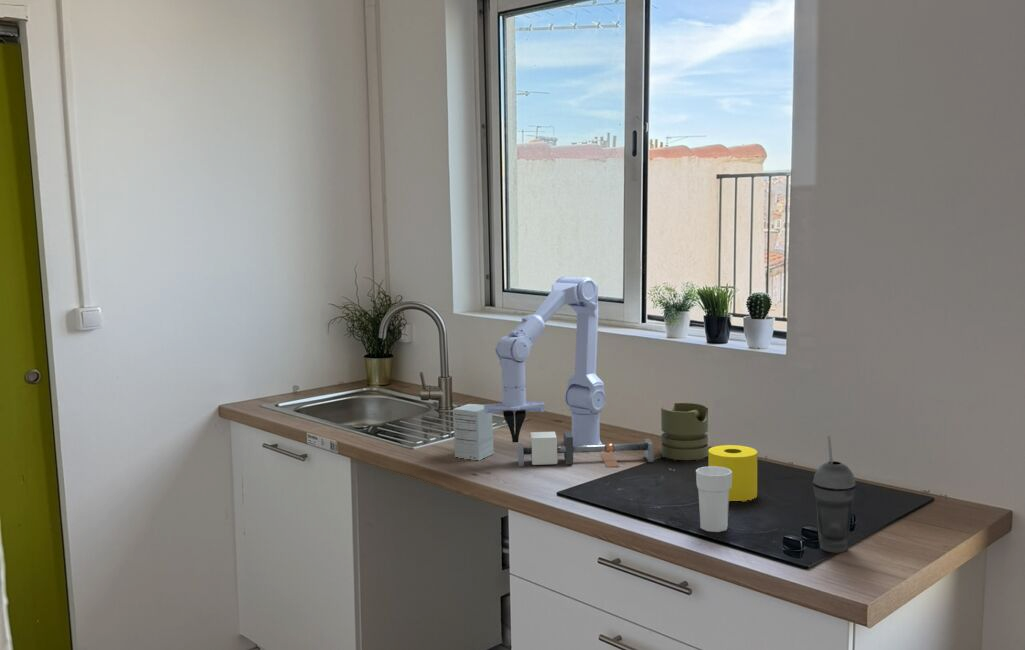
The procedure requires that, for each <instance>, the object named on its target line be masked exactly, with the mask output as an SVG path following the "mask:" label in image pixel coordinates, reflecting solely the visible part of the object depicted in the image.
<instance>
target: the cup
mask: <svg viewBox="0 0 1025 650" xmlns="http://www.w3.org/2000/svg"><path fill="white" fill-rule="evenodd" d="M695 475H696V476H695V477H696V487H697V490H698V504H699V505H698V508H699V521H700V529H701V530H703V531H706V532H710V533H711V532H712V533H715V532H716V533H720V532H724V531H728V524H729V522H728V520H729V506H730V505H729V504H730V501H729V489H730V488H731V484H732V471H731V470H730V469H728V468H724V467H717V466H709V465H708V466H702V467H698V468H697V469H695Z"/></svg>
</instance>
